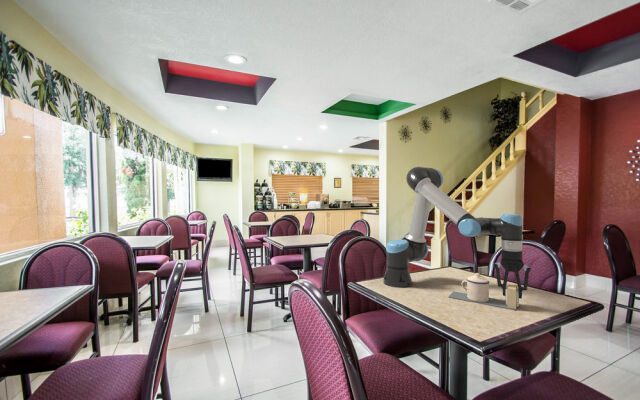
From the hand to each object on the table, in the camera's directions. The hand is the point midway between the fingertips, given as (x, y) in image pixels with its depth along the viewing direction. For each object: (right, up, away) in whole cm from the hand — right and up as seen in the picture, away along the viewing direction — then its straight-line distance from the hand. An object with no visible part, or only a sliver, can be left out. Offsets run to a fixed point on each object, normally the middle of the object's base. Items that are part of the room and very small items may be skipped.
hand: (512, 304), depth 121 cm
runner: (-9, -1, +7) cm, 12 cm away
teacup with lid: (-11, -1, +9) cm, 14 cm away
